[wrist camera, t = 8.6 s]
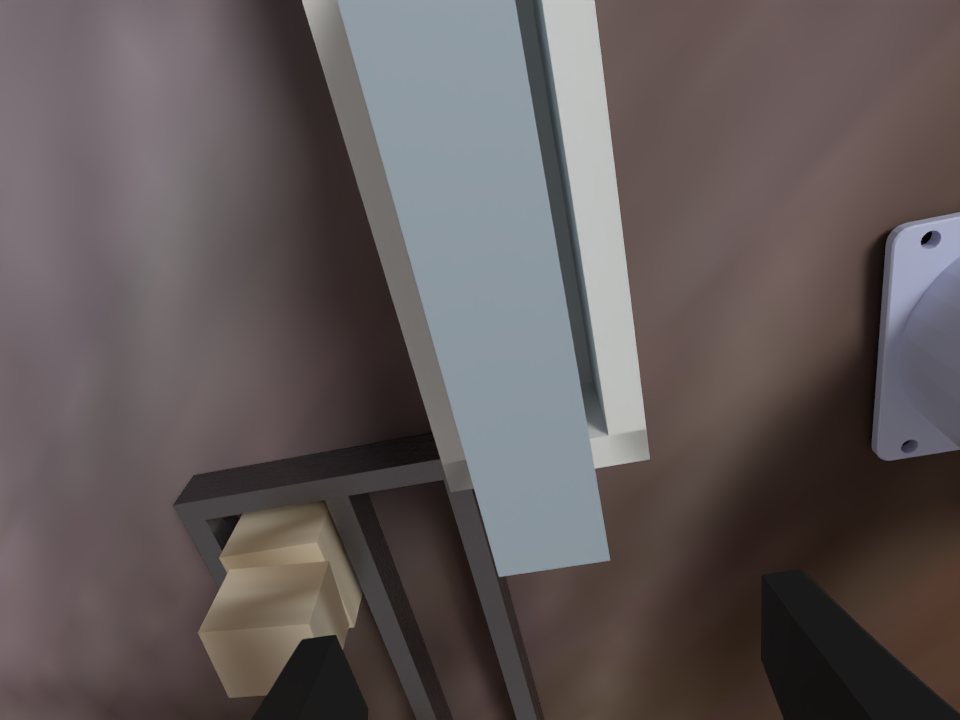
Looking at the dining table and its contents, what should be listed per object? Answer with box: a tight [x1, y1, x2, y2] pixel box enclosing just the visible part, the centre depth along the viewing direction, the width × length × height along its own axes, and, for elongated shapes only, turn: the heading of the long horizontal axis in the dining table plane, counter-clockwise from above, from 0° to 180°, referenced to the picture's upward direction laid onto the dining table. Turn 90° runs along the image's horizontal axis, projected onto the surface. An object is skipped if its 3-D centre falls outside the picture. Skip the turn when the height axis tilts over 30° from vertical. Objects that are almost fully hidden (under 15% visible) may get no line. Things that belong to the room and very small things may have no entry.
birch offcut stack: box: [198, 500, 363, 698], centre depth 21 cm, size 4×4×5 cm
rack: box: [173, 433, 544, 720], centre depth 26 cm, size 10×22×2 cm, turn 12°
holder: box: [302, 0, 650, 492], centre depth 16 cm, size 6×16×4 cm, turn 12°
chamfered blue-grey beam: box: [337, 0, 610, 577], centre depth 13 cm, size 2×12×8 cm, turn 13°
